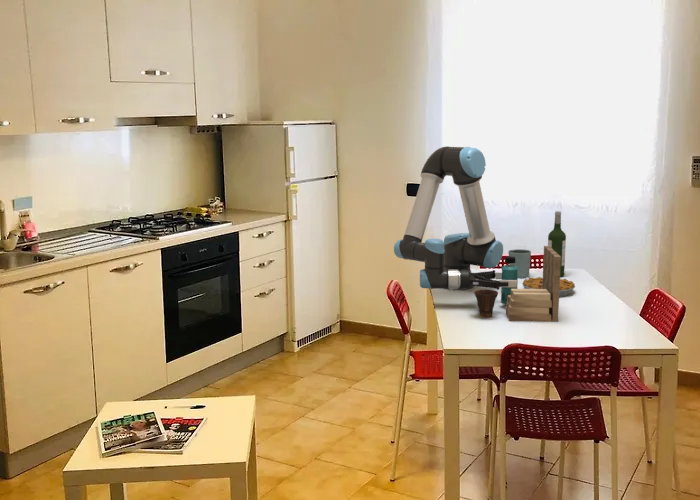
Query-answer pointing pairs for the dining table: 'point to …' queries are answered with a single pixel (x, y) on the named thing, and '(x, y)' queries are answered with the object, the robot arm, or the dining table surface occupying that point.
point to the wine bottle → (558, 241)
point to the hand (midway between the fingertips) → (514, 279)
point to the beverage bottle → (508, 278)
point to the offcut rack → (538, 294)
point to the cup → (485, 301)
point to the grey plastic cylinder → (521, 261)
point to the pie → (537, 283)
